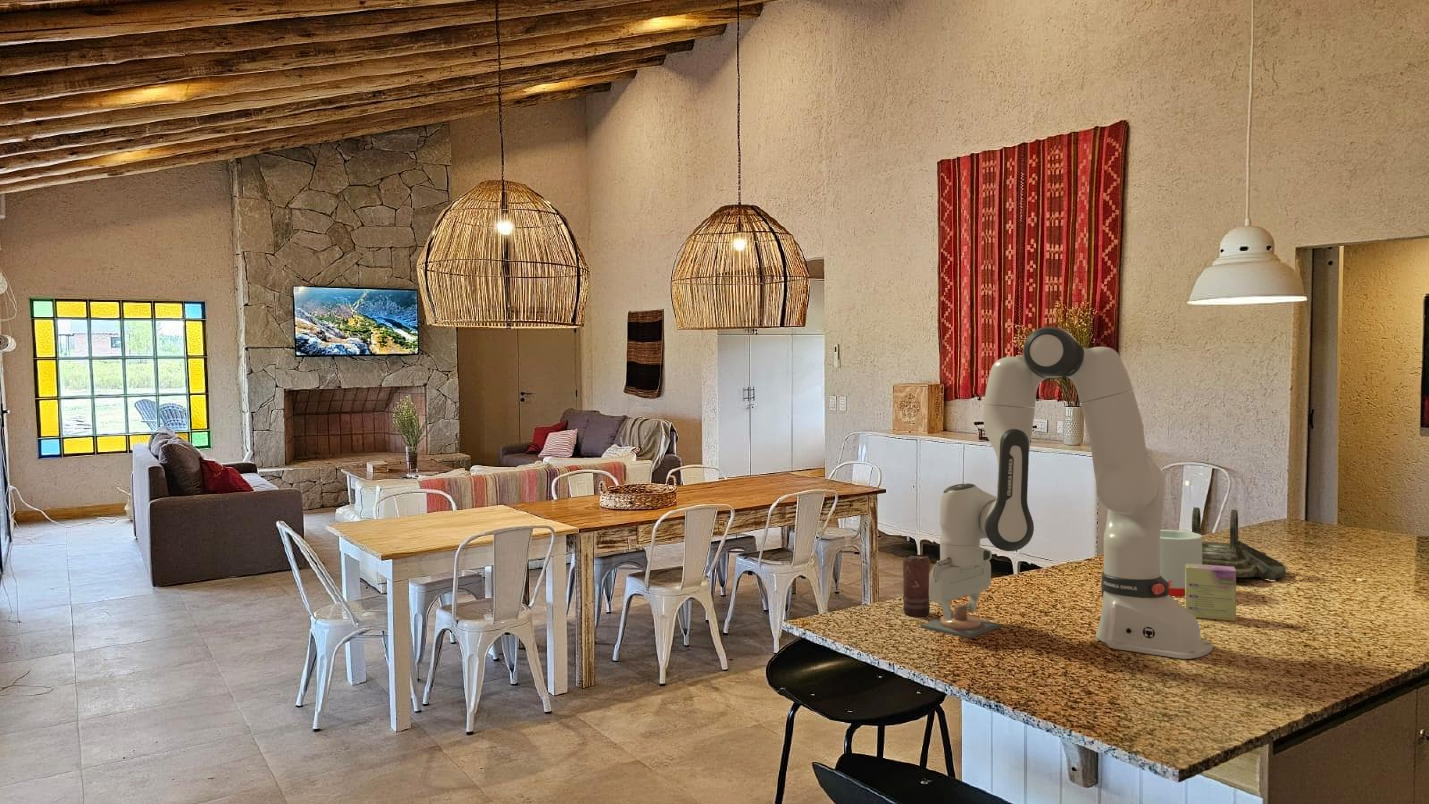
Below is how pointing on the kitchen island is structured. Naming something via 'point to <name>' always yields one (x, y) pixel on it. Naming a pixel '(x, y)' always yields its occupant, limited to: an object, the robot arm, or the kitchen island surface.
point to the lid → (961, 619)
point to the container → (1178, 557)
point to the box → (1210, 591)
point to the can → (916, 585)
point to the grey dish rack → (1237, 553)
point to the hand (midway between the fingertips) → (960, 615)
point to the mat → (984, 628)
